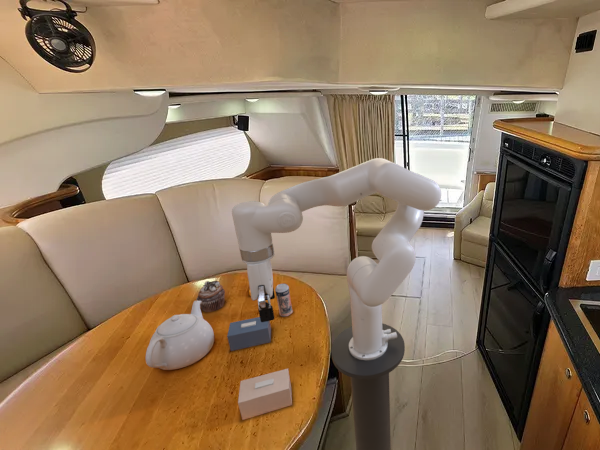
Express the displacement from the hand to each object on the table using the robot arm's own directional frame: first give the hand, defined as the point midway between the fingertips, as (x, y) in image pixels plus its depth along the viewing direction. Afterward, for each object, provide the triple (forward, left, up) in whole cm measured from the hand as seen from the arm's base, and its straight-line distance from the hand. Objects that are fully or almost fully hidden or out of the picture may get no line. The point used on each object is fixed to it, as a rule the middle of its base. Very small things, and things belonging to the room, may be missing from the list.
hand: (268, 309), depth 83 cm
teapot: (+29, -20, -24) cm, 42 cm away
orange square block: (+8, -51, -24) cm, 57 cm away
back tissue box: (+9, -19, -23) cm, 32 cm away
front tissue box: (+3, +8, -23) cm, 25 cm away
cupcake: (+25, -45, -24) cm, 57 cm away
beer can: (-2, -30, -24) cm, 38 cm away
